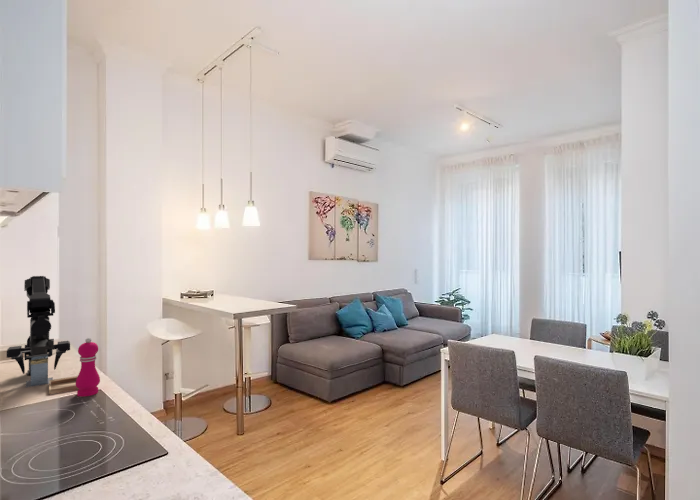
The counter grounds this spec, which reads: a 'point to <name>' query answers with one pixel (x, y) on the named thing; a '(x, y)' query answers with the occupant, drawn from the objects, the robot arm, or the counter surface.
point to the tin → (39, 370)
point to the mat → (28, 384)
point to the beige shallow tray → (62, 385)
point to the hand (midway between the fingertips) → (39, 371)
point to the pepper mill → (87, 369)
